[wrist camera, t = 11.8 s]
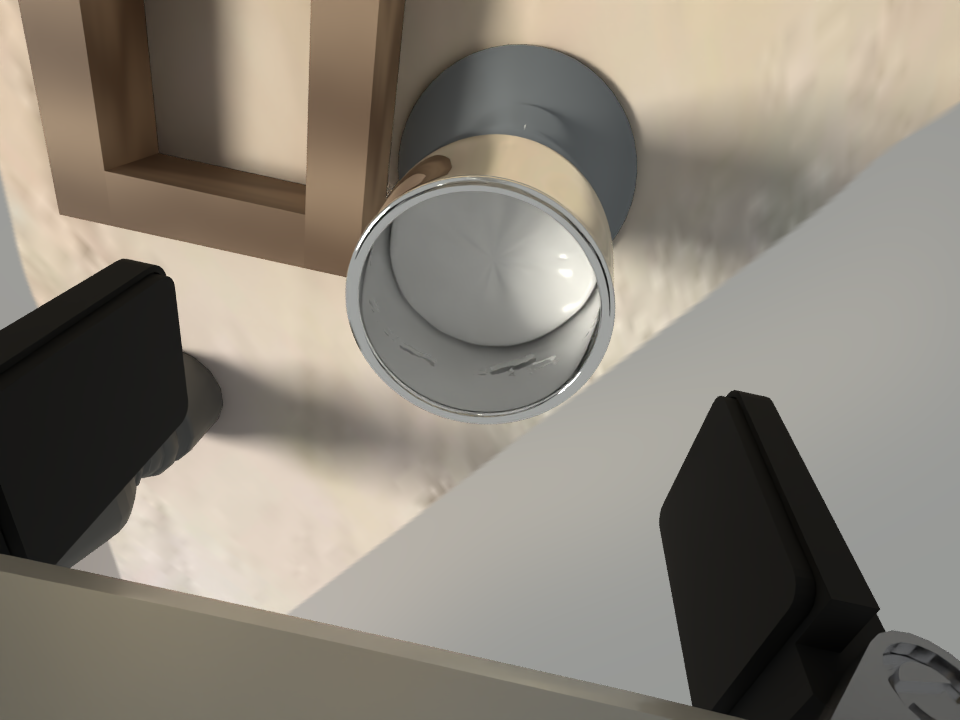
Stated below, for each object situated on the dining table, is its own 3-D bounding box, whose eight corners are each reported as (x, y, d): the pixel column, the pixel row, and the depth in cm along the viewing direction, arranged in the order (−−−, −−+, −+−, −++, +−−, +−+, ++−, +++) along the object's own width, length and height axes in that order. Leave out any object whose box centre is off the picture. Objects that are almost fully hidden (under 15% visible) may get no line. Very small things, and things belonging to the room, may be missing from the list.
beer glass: (623, 194, 27) (679, 354, 14) (499, 273, 30) (451, 468, 17) (539, 56, 24) (512, 95, 12) (413, 155, 27) (278, 277, 14)
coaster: (415, 19, 25) (412, 19, 24) (670, 74, 25) (672, 74, 24) (389, 261, 30) (387, 263, 30) (597, 306, 30) (597, 309, 30)
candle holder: (175, 330, 34) (-481, 855, 13) (242, 410, 37) (-213, 966, 15) (105, 368, 36) (-562, 875, 15) (173, 442, 39) (-315, 970, 17)
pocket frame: (68, -158, 23) (-19, -189, 20) (413, -85, 23) (387, -104, 20) (116, 192, 30) (59, 214, 27) (380, 250, 30) (357, 279, 27)
